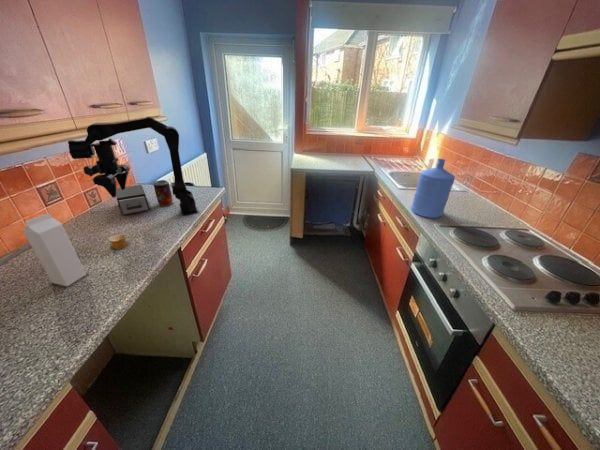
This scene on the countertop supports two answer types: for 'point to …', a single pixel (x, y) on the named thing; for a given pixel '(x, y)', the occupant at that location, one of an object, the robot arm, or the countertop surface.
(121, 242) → the coffee pod
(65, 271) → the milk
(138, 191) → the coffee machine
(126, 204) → the drawer
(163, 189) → the red food can
